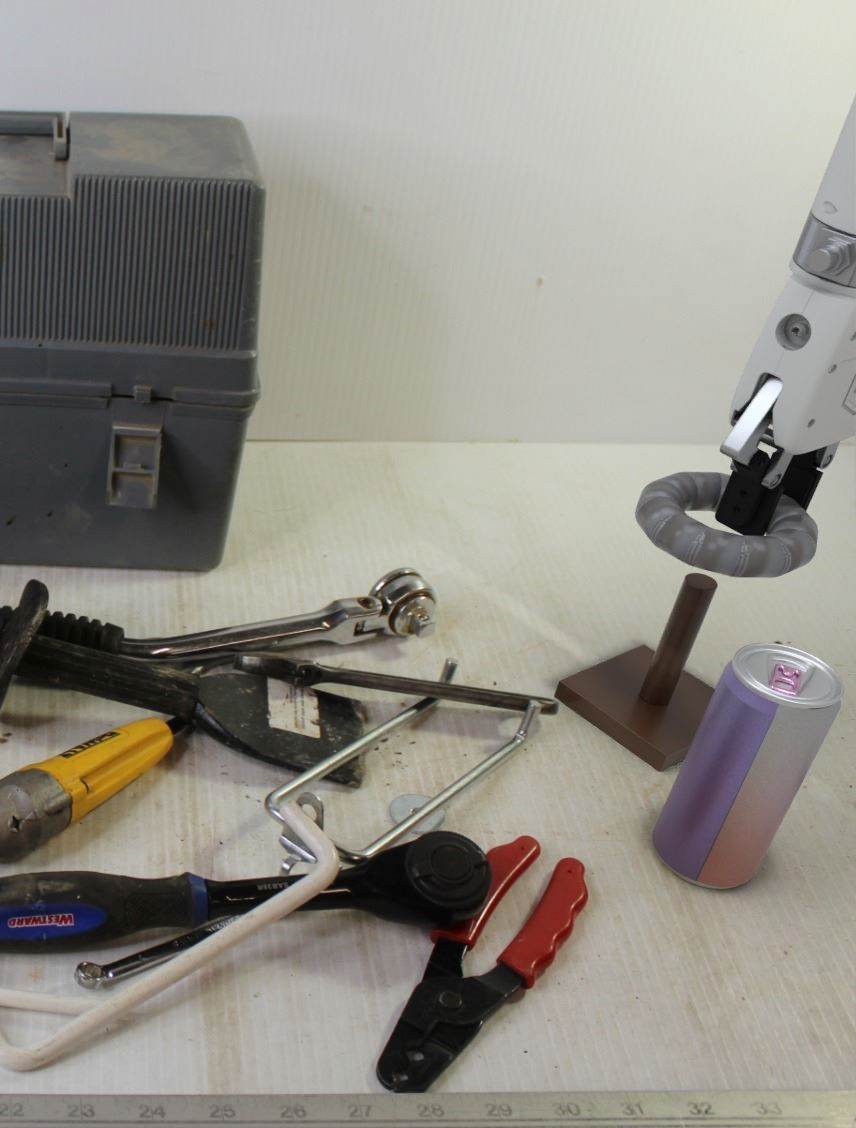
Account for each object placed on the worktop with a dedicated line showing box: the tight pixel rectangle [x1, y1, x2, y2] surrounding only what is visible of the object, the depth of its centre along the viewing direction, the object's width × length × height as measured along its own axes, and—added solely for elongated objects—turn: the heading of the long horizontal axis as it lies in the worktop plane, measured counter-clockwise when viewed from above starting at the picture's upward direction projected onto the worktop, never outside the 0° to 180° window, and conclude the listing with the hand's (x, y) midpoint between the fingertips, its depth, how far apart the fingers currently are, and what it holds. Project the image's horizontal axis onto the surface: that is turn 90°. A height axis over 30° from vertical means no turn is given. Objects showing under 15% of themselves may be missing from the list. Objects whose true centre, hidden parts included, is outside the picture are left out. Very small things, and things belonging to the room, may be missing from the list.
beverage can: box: [651, 642, 845, 890], centre depth 79 cm, size 6×6×15 cm
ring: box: [634, 471, 819, 579], centre depth 86 cm, size 10×10×3 cm
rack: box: [553, 572, 719, 772], centre depth 91 cm, size 9×9×12 cm
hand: (757, 519), depth 87 cm, fingers closed on ring, 3 cm apart
